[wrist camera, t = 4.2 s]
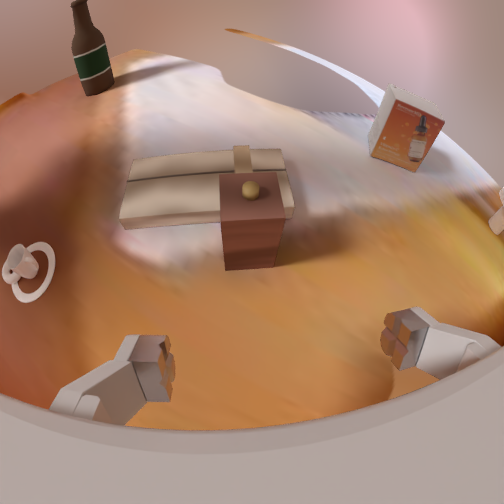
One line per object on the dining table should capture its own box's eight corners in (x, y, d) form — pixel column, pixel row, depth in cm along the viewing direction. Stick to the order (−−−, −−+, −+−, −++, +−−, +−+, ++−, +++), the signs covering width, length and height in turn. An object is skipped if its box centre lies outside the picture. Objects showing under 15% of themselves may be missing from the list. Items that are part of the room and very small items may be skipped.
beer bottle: (121, 81, 46) (104, -10, 24) (94, 98, 42) (69, 3, 21) (104, 79, 47) (85, -4, 26) (78, 95, 44) (54, 10, 23)
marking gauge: (273, 267, 26) (287, 210, 18) (225, 270, 25) (219, 214, 18) (259, 178, 31) (265, 116, 23) (221, 180, 31) (217, 117, 23)
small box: (369, 156, 35) (394, 98, 25) (367, 135, 37) (387, 81, 28) (415, 174, 34) (446, 122, 25) (410, 152, 37) (435, 102, 27)
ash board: (291, 218, 29) (295, 206, 27) (124, 229, 27) (118, 218, 25) (278, 160, 33) (280, 148, 31) (137, 170, 31) (133, 159, 29)
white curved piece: (3, 283, 23) (-15, 269, 20) (32, 234, 27) (16, 216, 23) (35, 316, 22) (13, 303, 18) (67, 257, 26) (49, 239, 22)
